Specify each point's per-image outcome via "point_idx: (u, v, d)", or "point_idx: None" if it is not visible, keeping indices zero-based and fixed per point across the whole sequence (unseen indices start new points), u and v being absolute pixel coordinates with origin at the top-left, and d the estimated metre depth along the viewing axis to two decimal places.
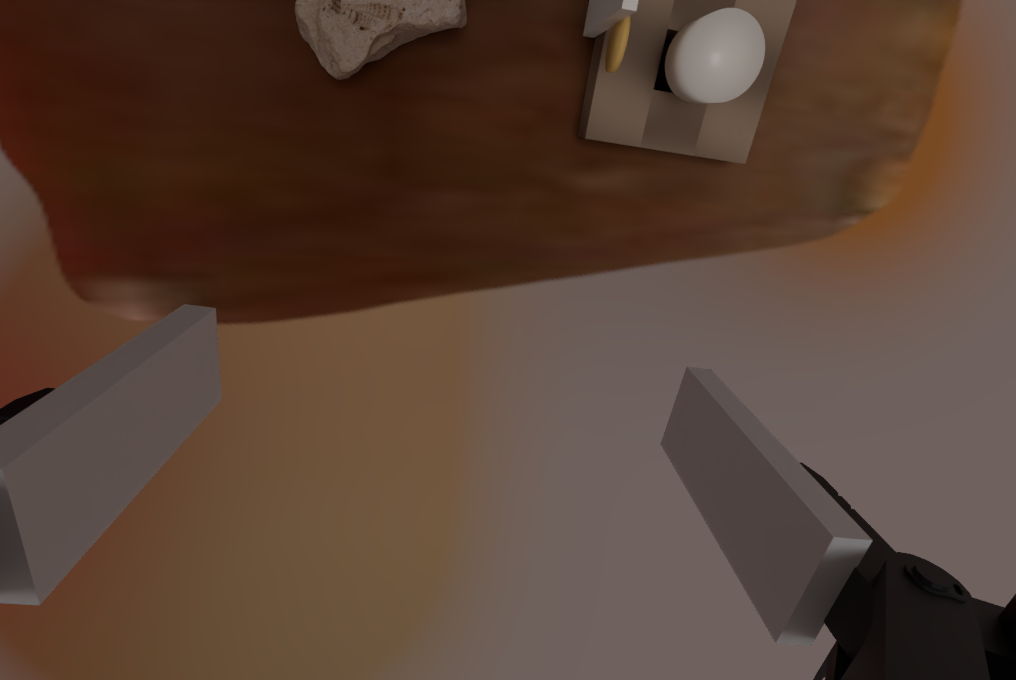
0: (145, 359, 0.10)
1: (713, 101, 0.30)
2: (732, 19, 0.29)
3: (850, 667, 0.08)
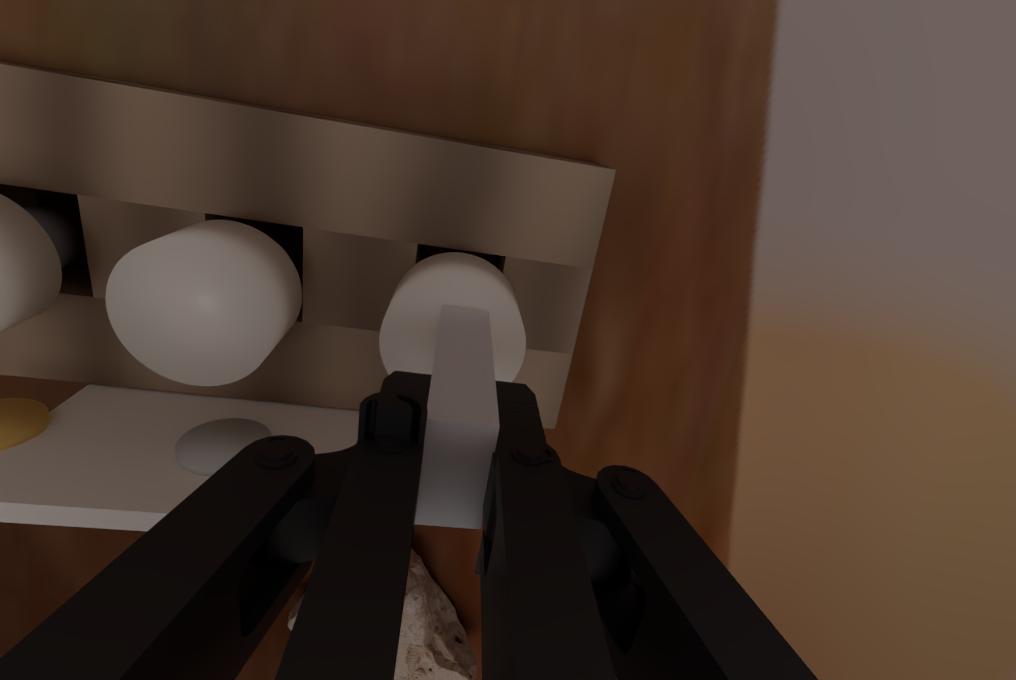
0: (463, 348, 0.13)
1: (523, 351, 0.17)
2: (396, 342, 0.17)
3: (490, 559, 0.09)
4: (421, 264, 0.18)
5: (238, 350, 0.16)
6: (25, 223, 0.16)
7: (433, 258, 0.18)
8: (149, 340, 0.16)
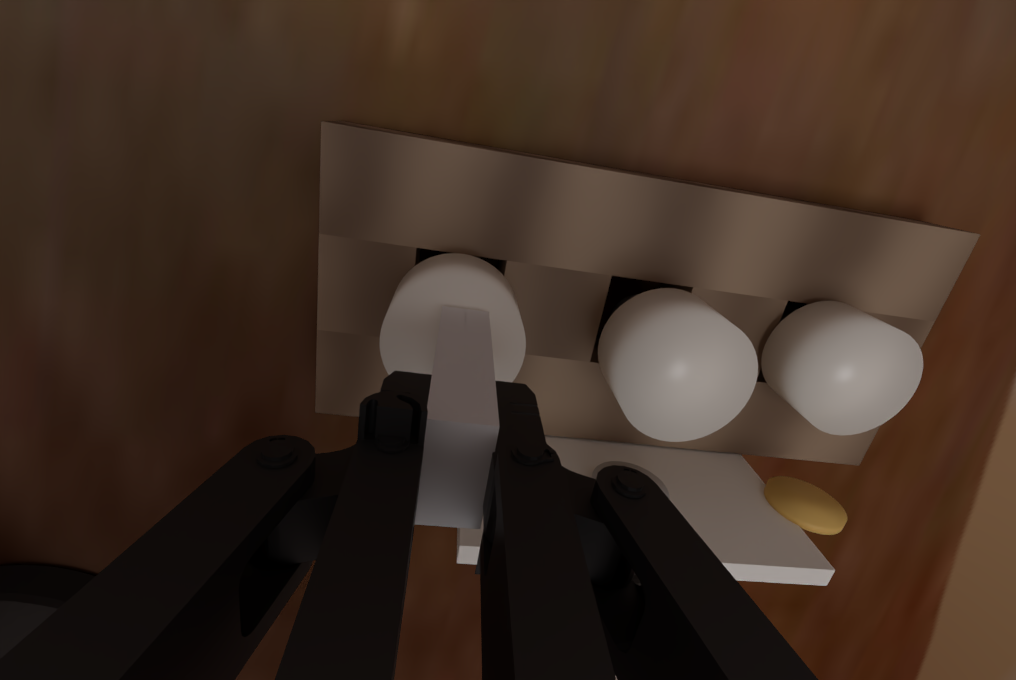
0: (463, 348, 0.13)
1: (915, 387, 0.20)
2: (818, 381, 0.20)
3: (490, 559, 0.09)
4: (812, 312, 0.21)
5: (715, 410, 0.18)
6: (511, 288, 0.19)
7: (818, 306, 0.21)
8: (644, 403, 0.17)
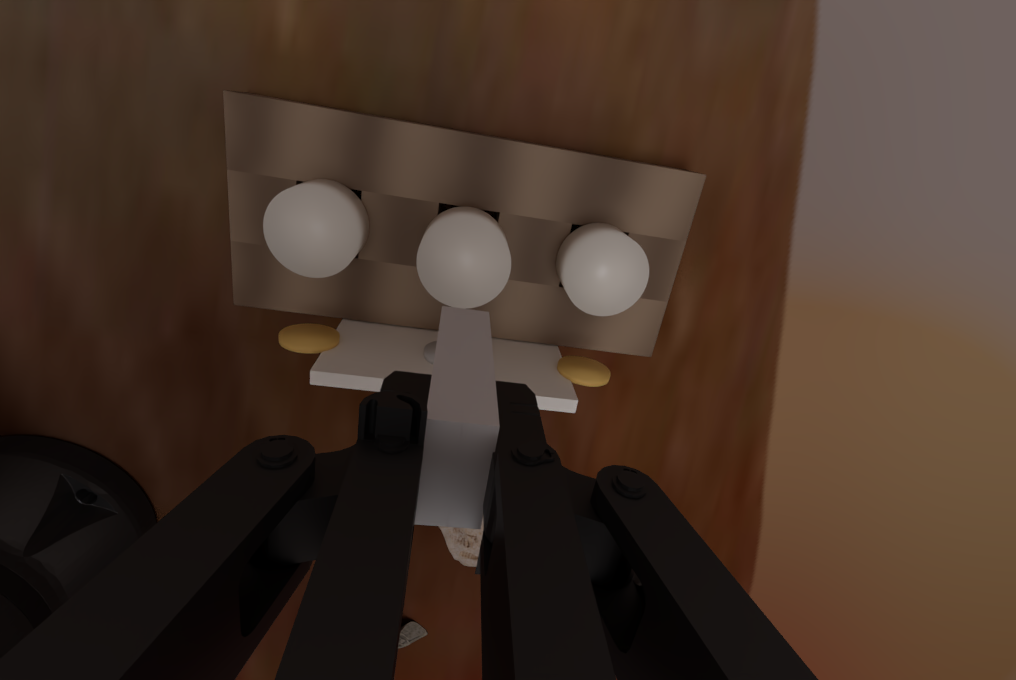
0: (464, 349, 0.13)
1: (647, 280, 0.29)
2: (574, 273, 0.28)
3: (490, 559, 0.09)
4: (581, 229, 0.30)
5: (486, 285, 0.26)
6: (359, 203, 0.28)
7: (588, 226, 0.30)
8: (436, 278, 0.26)
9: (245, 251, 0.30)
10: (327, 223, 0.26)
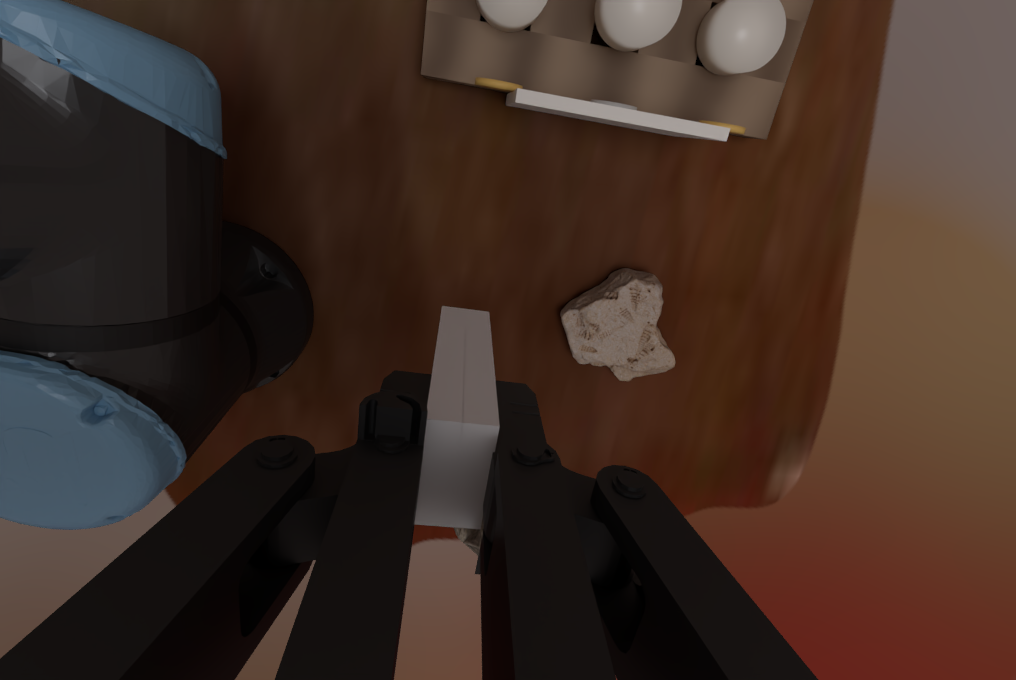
0: (464, 349, 0.13)
1: (783, 36, 0.34)
2: (723, 27, 0.34)
3: (490, 559, 0.09)
4: (724, 0, 0.35)
5: (660, 23, 0.32)
6: None
7: None
8: (619, 15, 0.31)
9: (437, 21, 0.35)
10: None
